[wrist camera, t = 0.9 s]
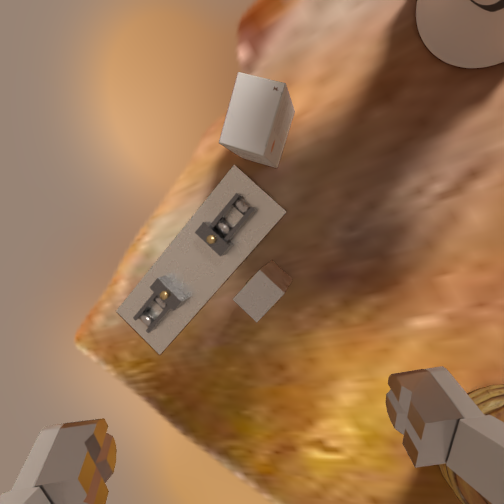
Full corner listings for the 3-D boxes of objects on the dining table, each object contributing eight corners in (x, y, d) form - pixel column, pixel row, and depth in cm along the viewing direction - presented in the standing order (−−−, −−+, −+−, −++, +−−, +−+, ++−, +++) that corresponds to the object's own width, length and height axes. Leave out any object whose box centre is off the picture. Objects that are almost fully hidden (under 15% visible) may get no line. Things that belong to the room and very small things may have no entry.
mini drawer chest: (270, 259, 48) (258, 268, 39) (293, 280, 48) (286, 294, 39) (248, 283, 49) (231, 298, 41) (270, 304, 49) (258, 323, 40)
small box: (257, 101, 46) (237, 68, 36) (296, 111, 45) (286, 80, 35) (240, 158, 48) (216, 142, 37) (277, 169, 47) (263, 156, 36)
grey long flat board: (234, 165, 48) (227, 161, 44) (286, 211, 47) (283, 211, 43) (117, 310, 55) (103, 316, 51) (160, 353, 54) (149, 363, 50)
